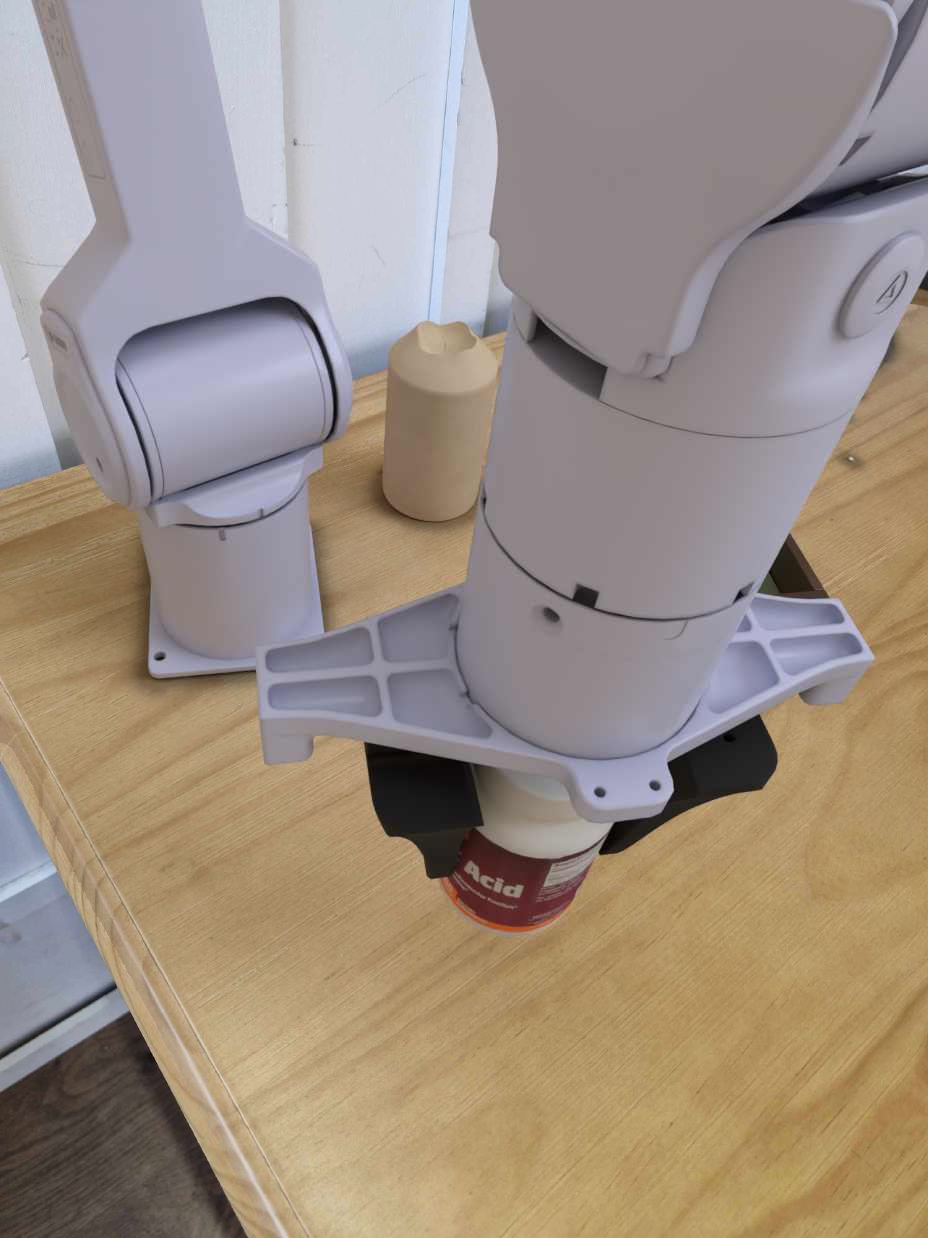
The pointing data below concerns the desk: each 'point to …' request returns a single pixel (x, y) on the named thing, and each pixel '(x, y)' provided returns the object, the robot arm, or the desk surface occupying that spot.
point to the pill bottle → (521, 854)
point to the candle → (437, 420)
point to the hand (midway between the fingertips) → (517, 836)
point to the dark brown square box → (792, 575)
